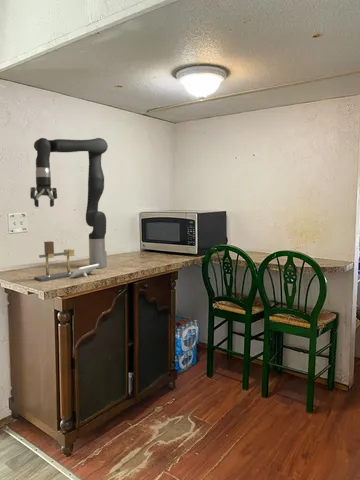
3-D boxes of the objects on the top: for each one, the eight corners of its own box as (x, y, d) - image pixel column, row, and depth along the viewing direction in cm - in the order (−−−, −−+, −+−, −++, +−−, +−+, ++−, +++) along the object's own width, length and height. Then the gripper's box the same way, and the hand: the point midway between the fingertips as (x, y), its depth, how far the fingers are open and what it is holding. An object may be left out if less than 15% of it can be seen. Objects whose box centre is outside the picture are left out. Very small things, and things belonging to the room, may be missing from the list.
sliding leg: (49, 274, 189) (48, 241, 187) (54, 275, 186) (53, 241, 184) (44, 274, 187) (42, 241, 185) (49, 276, 183) (47, 242, 182)
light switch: (82, 274, 186) (101, 269, 199) (78, 266, 187) (97, 262, 200) (73, 282, 190) (92, 277, 203) (68, 275, 191) (88, 270, 204)
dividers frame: (69, 271, 198) (68, 249, 197) (74, 272, 195) (74, 249, 194) (36, 276, 185) (35, 252, 184) (41, 278, 181) (40, 253, 180)
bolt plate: (69, 273, 201) (69, 270, 201) (77, 275, 196) (77, 272, 196) (34, 279, 186) (34, 276, 186) (42, 281, 181) (42, 278, 181)
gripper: (51, 177, 208) (52, 206, 210) (27, 176, 197) (28, 206, 199) (59, 176, 203) (60, 206, 205) (34, 175, 192) (35, 207, 194)
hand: (44, 206), depth 202 cm, fingers open, 8 cm apart
